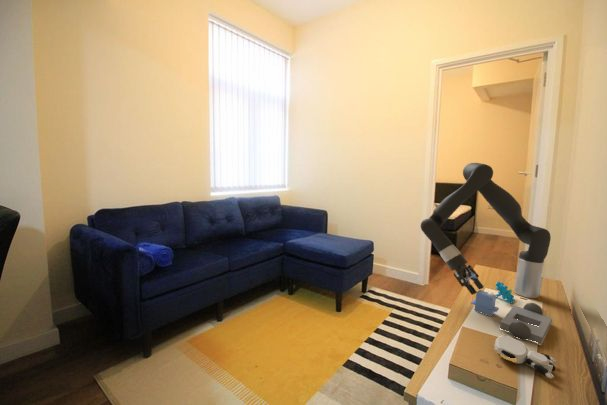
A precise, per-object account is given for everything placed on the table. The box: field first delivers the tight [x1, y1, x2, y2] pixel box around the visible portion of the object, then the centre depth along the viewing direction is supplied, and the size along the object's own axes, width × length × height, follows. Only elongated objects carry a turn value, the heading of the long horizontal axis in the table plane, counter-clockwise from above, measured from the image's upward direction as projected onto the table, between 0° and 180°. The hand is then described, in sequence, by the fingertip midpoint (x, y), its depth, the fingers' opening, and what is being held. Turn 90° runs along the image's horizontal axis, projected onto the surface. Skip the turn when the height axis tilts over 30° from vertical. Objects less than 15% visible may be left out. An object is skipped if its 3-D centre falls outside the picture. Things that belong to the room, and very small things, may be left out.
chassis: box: [499, 302, 553, 346], centre depth 106 cm, size 12×23×6 cm, turn 131°
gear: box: [495, 281, 516, 304], centre depth 130 cm, size 11×6×10 cm
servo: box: [470, 289, 500, 317], centre depth 117 cm, size 9×4×9 cm, turn 41°
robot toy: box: [493, 332, 557, 379], centre depth 87 cm, size 12×4×15 cm
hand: (478, 291), depth 118 cm, fingers open, 8 cm apart
